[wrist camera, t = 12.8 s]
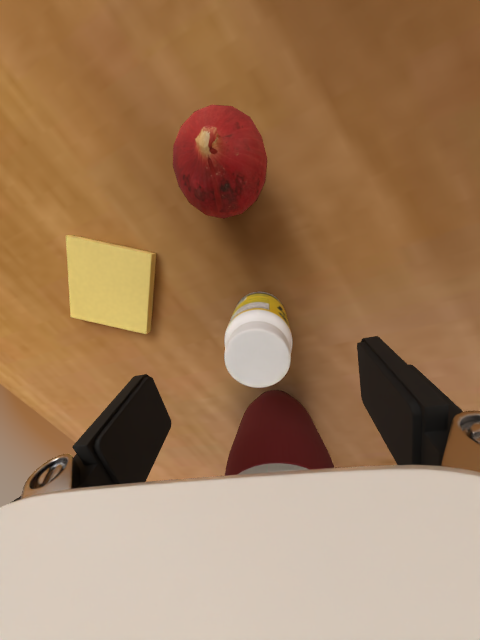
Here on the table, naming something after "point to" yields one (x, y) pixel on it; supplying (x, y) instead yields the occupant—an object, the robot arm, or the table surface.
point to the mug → (276, 438)
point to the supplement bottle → (258, 341)
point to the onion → (220, 161)
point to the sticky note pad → (110, 283)
